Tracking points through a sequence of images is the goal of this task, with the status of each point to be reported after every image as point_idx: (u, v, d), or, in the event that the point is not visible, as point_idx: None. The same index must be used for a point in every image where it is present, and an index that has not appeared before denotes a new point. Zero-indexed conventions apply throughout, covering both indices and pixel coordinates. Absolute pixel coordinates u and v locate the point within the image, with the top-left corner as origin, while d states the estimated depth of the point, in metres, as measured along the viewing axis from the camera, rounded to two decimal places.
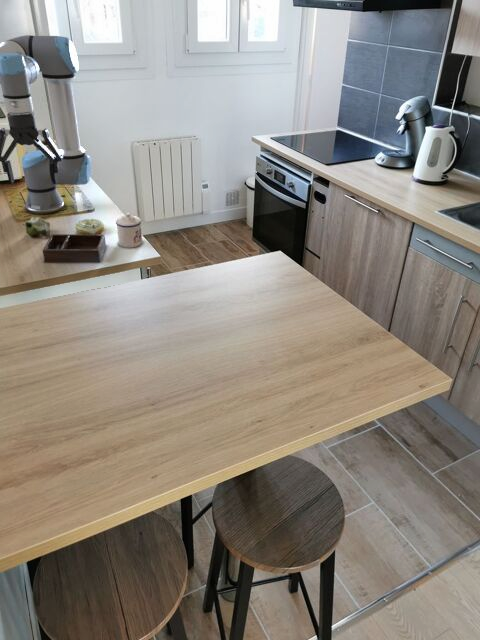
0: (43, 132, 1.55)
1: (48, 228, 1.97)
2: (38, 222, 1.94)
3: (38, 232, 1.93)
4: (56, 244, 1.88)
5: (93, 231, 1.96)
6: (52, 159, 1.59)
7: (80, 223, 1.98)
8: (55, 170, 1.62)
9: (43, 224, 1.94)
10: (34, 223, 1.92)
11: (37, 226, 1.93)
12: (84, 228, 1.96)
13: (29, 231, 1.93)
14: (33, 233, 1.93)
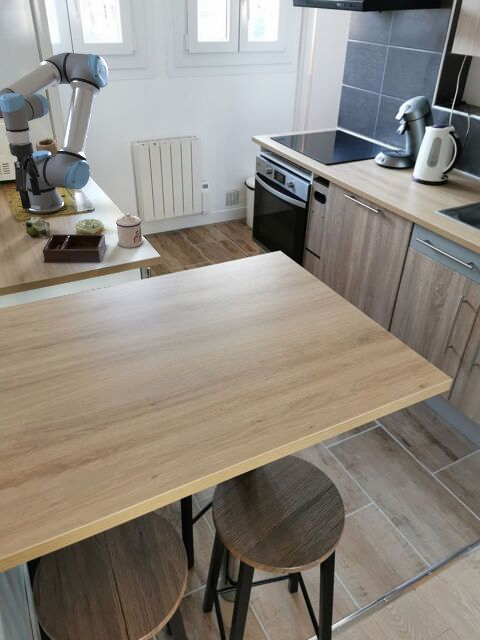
0: None
1: (48, 228, 1.97)
2: (38, 222, 1.94)
3: (38, 232, 1.93)
4: (56, 244, 1.88)
5: (93, 231, 1.96)
6: None
7: (80, 223, 1.98)
8: None
9: (43, 224, 1.94)
10: (34, 223, 1.92)
11: (37, 226, 1.93)
12: (84, 228, 1.96)
13: (29, 231, 1.93)
14: (33, 233, 1.93)
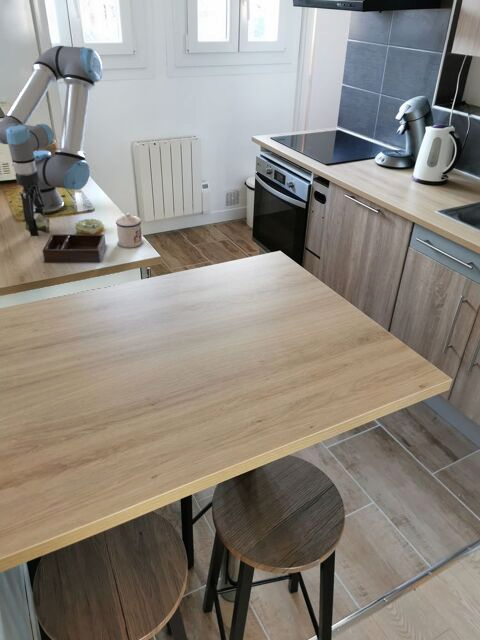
0: None
1: (48, 224, 1.97)
2: (38, 218, 1.93)
3: None
4: (56, 244, 1.88)
5: (93, 231, 1.96)
6: None
7: (80, 223, 1.98)
8: None
9: (43, 220, 1.94)
10: None
11: (37, 222, 1.92)
12: (84, 228, 1.96)
13: None
14: None
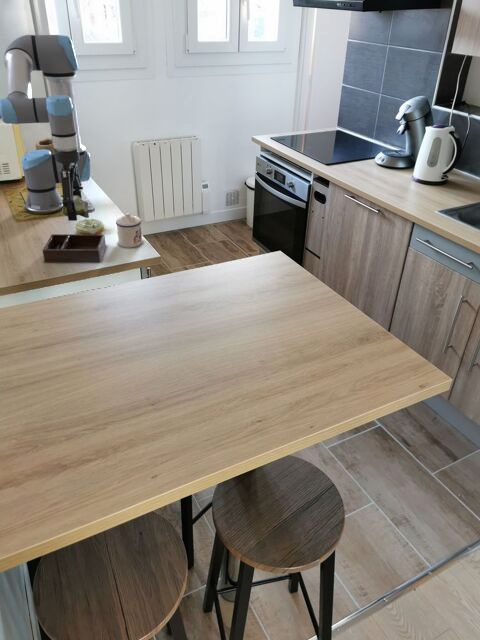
0: None
1: (86, 208, 1.77)
2: (76, 201, 1.74)
3: (76, 213, 1.72)
4: (56, 244, 1.88)
5: (93, 231, 1.96)
6: None
7: (80, 223, 1.98)
8: None
9: (81, 203, 1.74)
10: None
11: (75, 205, 1.73)
12: (84, 228, 1.96)
13: (66, 211, 1.73)
14: None
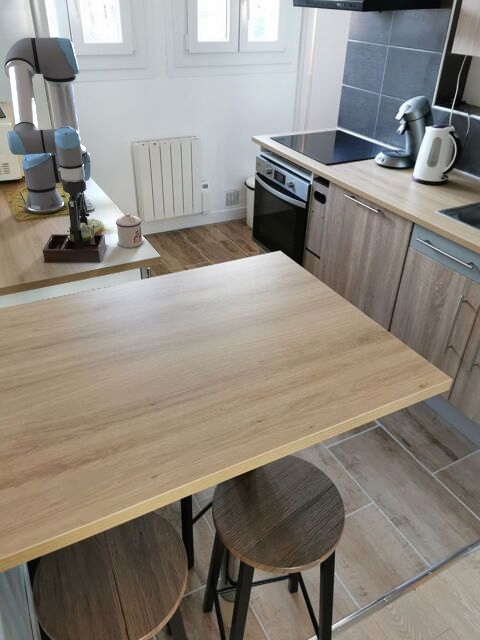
0: None
1: (93, 235, 1.82)
2: (83, 228, 1.78)
3: None
4: (56, 244, 1.88)
5: None
6: None
7: None
8: None
9: (88, 230, 1.79)
10: None
11: (82, 233, 1.77)
12: None
13: (73, 238, 1.77)
14: None
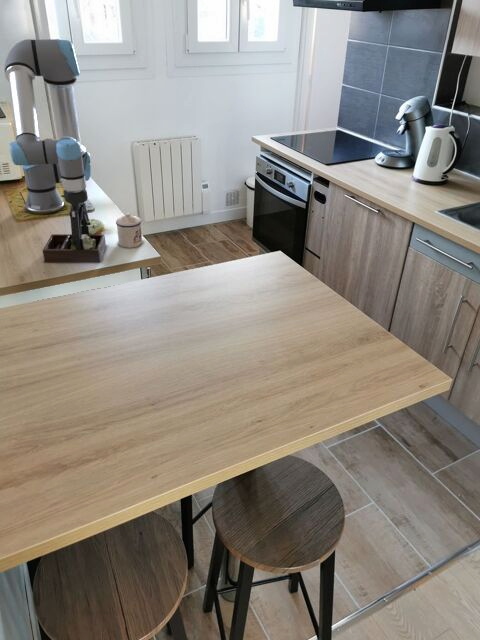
0: None
1: (94, 246, 1.84)
2: (84, 240, 1.81)
3: None
4: (56, 244, 1.88)
5: (93, 231, 1.96)
6: None
7: None
8: None
9: (89, 242, 1.81)
10: None
11: (83, 244, 1.80)
12: None
13: None
14: None
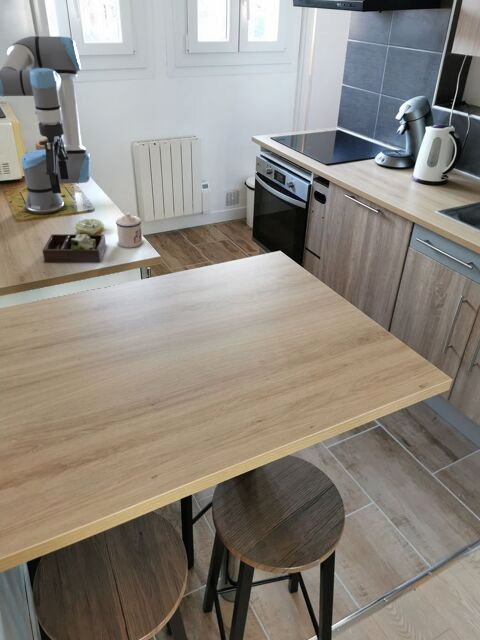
0: None
1: (94, 246, 1.84)
2: (84, 240, 1.81)
3: None
4: (56, 244, 1.88)
5: (93, 231, 1.96)
6: None
7: (80, 223, 1.98)
8: None
9: (90, 242, 1.81)
10: (80, 241, 1.79)
11: (83, 244, 1.80)
12: (84, 228, 1.96)
13: None
14: None
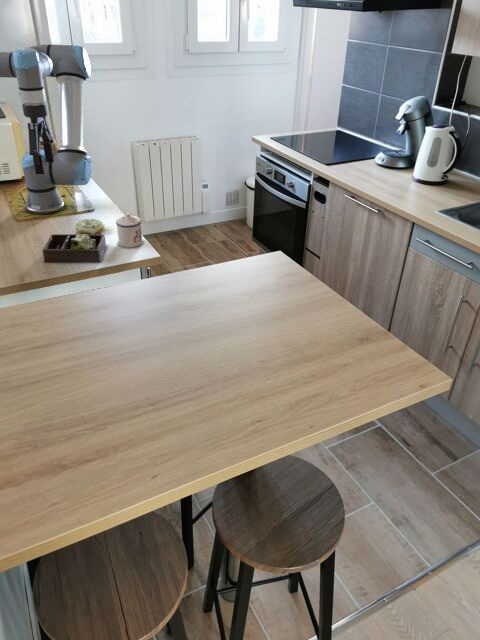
0: None
1: (94, 246, 1.84)
2: (84, 240, 1.81)
3: None
4: (56, 244, 1.88)
5: (93, 231, 1.96)
6: None
7: (80, 223, 1.98)
8: None
9: (90, 242, 1.81)
10: (80, 241, 1.79)
11: (83, 244, 1.80)
12: (84, 228, 1.96)
13: None
14: None
